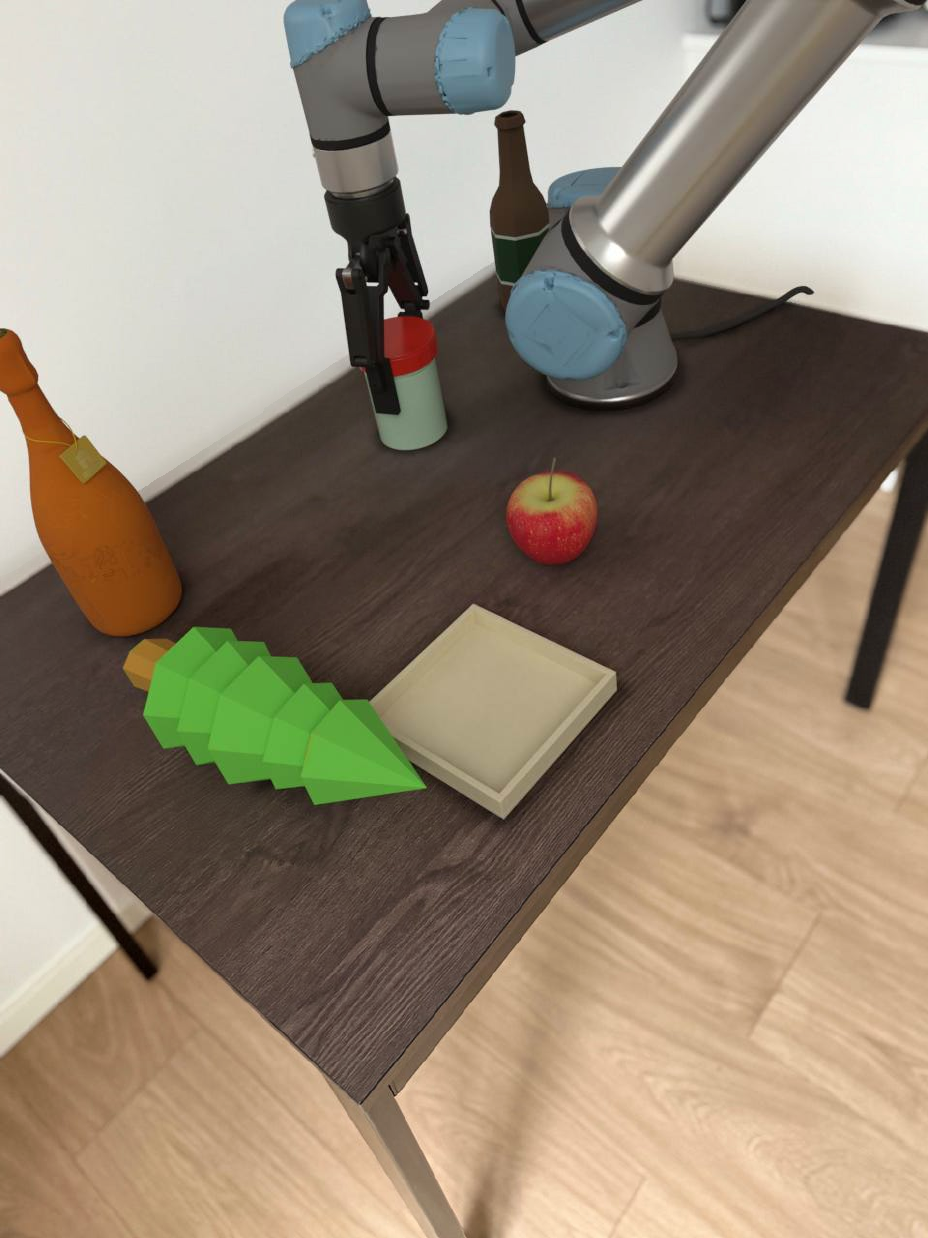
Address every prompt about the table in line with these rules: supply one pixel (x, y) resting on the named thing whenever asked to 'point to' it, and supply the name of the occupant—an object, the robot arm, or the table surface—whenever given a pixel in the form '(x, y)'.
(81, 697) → the table surface
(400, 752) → the decorative tree
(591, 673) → the tray
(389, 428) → the jar
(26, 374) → the wine bottle
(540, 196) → the beer bottle
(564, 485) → the apple
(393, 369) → the lid
